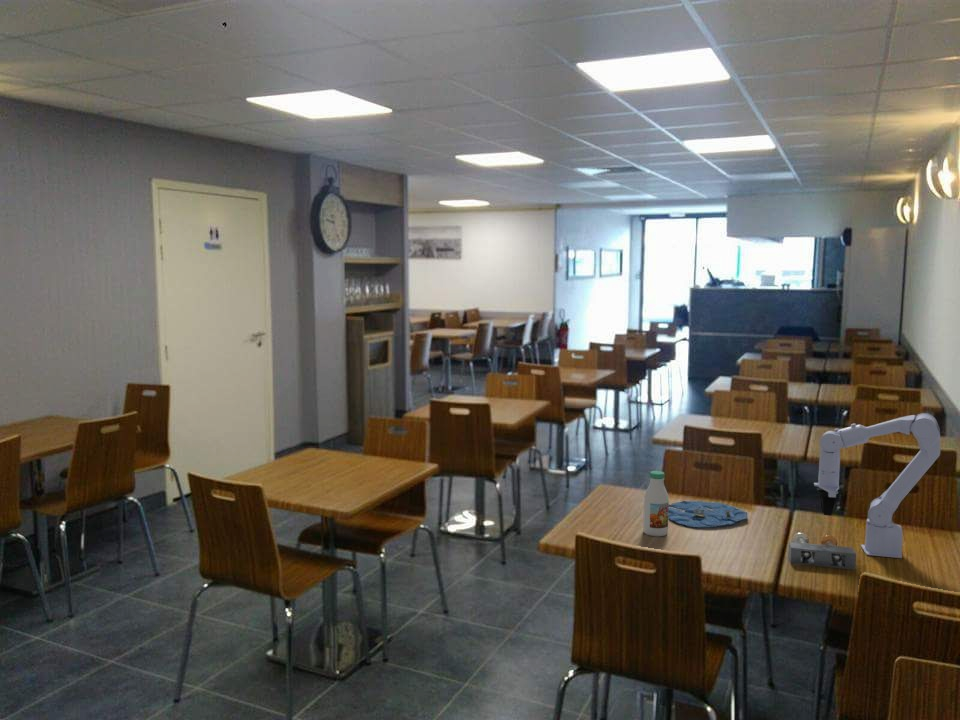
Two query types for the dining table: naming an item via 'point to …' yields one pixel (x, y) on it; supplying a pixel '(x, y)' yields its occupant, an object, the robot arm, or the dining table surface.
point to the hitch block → (822, 555)
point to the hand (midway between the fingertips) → (826, 513)
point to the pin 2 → (832, 542)
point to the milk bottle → (656, 506)
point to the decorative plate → (704, 514)
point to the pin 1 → (802, 539)
